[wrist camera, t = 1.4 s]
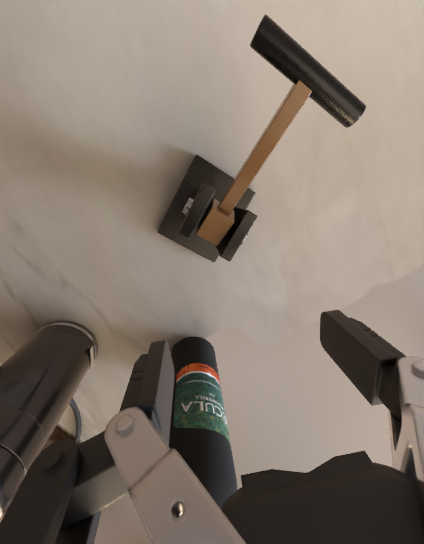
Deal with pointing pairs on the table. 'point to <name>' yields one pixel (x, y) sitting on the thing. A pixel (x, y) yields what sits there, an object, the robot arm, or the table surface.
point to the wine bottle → (201, 418)
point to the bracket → (194, 203)
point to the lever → (281, 115)
